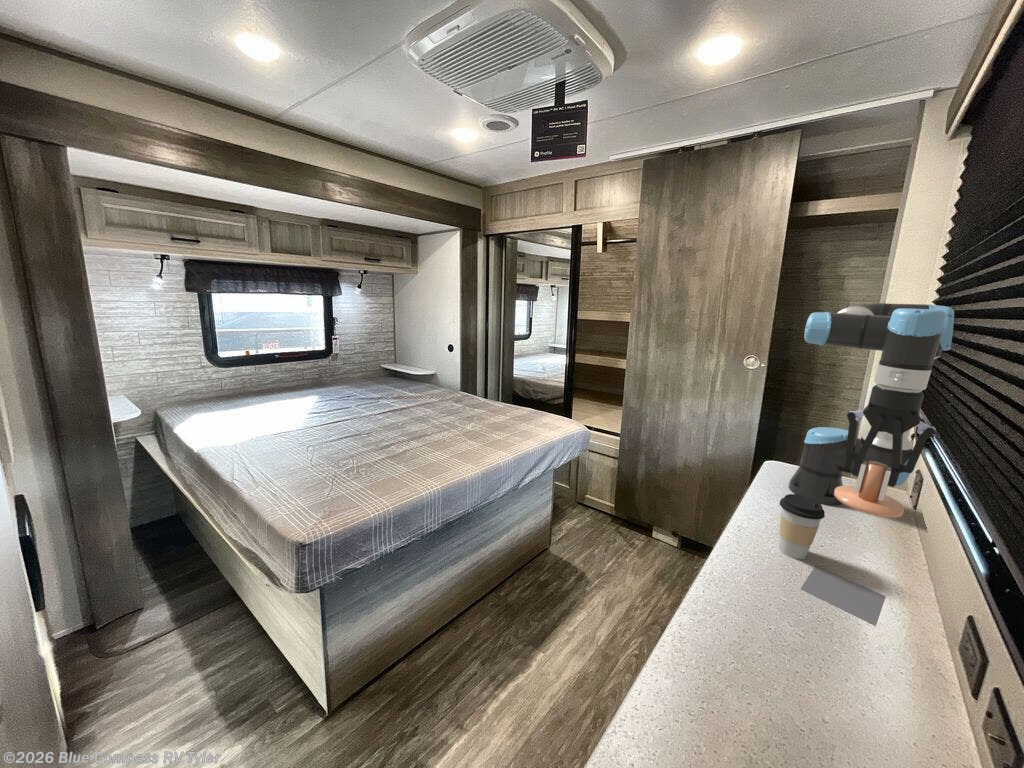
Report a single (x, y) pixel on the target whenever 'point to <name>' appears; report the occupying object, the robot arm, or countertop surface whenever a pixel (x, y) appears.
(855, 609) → the mat
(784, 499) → the coffee cup
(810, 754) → the countertop surface
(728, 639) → the countertop surface
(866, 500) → the lid
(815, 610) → the countertop surface
